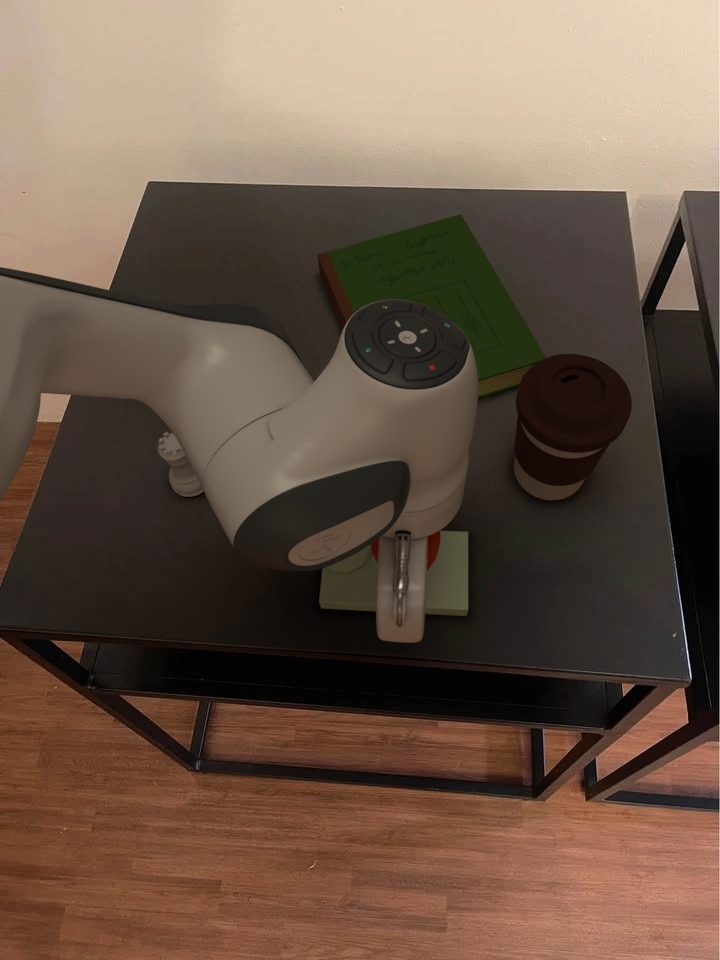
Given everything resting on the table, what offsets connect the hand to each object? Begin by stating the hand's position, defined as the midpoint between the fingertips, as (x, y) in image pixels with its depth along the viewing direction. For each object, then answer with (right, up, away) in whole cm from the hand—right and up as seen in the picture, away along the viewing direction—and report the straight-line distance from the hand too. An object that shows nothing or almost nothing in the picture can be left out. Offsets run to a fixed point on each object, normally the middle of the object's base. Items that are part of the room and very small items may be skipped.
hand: (405, 551), depth 65 cm
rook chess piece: (-22, +6, +12) cm, 26 cm away
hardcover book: (+4, +25, +20) cm, 32 cm away
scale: (-1, -3, +5) cm, 6 cm away
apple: (0, -1, +2) cm, 3 cm away
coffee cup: (+16, +7, +10) cm, 20 cm away
